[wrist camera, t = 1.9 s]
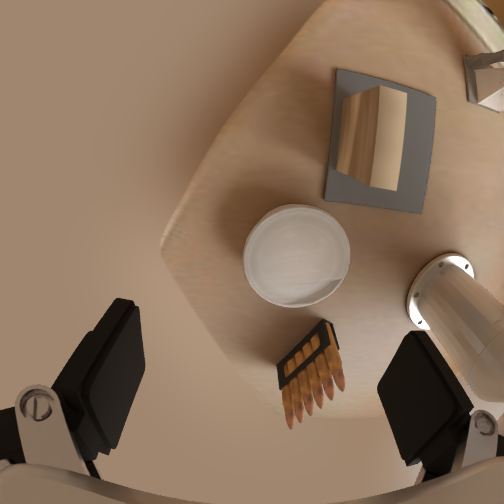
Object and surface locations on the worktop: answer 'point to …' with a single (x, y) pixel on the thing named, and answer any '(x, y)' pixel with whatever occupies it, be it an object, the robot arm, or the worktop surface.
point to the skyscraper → (485, 80)
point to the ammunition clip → (310, 372)
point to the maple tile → (373, 136)
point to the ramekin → (296, 255)
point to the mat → (413, 151)
